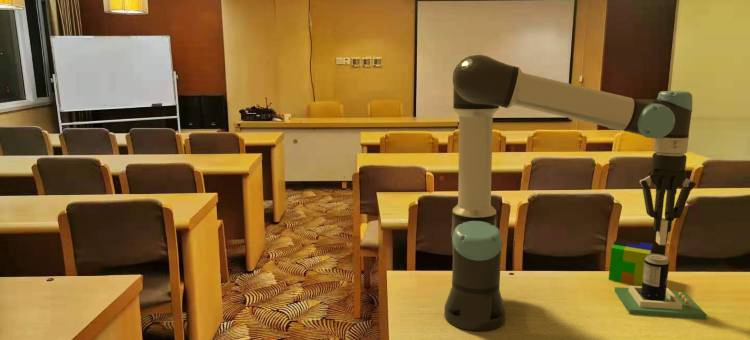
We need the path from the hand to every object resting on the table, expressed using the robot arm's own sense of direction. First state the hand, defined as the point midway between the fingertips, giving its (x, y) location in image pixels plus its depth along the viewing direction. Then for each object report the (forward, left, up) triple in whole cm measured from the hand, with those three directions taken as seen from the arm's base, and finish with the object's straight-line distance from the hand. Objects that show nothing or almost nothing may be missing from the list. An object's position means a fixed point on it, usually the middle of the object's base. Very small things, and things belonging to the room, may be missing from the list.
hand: (660, 243), depth 138 cm
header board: (+1, 0, -17) cm, 17 cm away
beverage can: (0, 0, -16) cm, 16 cm away
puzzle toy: (-1, +18, -17) cm, 25 cm away
